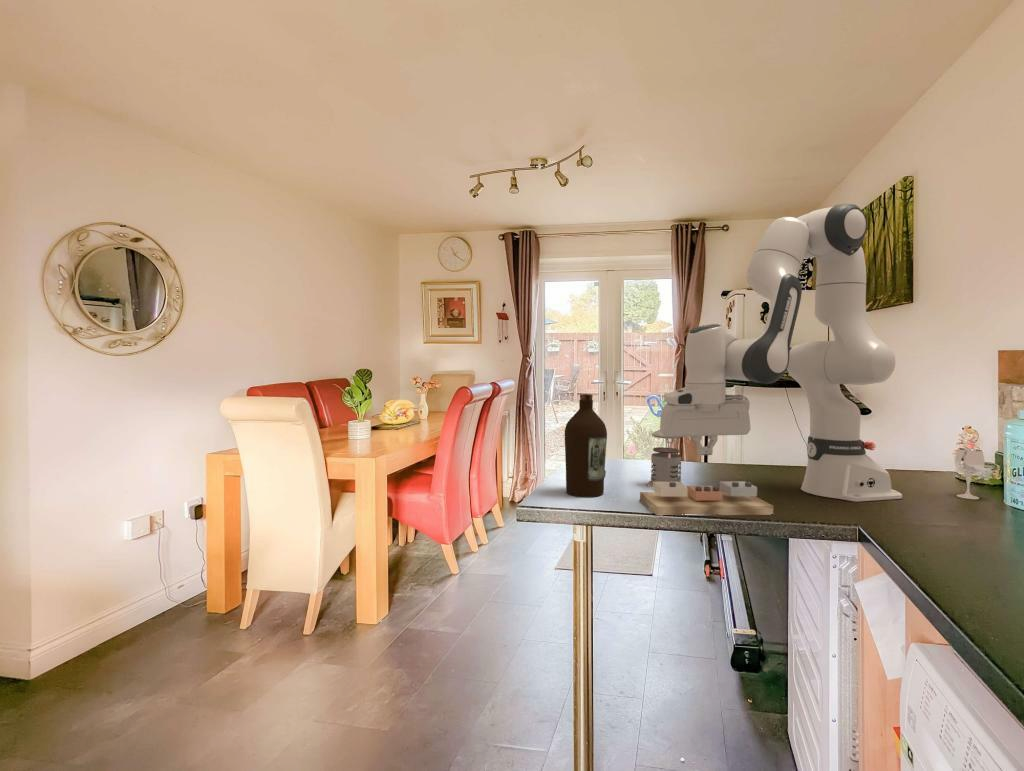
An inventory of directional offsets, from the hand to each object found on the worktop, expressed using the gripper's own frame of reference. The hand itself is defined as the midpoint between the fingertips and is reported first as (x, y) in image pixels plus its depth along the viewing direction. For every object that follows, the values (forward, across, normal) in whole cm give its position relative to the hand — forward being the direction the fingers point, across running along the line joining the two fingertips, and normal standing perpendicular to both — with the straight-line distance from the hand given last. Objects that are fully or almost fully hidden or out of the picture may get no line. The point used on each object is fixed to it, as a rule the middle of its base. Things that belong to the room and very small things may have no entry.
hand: (704, 454), depth 129 cm
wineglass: (+14, -70, -6) cm, 72 cm away
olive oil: (+12, +26, -12) cm, 31 cm away
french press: (+12, +2, -21) cm, 25 cm away
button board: (+12, +1, +2) cm, 12 cm away
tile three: (+9, +1, +2) cm, 10 cm away
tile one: (+8, +9, +2) cm, 12 cm away
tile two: (+9, -7, +2) cm, 11 cm away
